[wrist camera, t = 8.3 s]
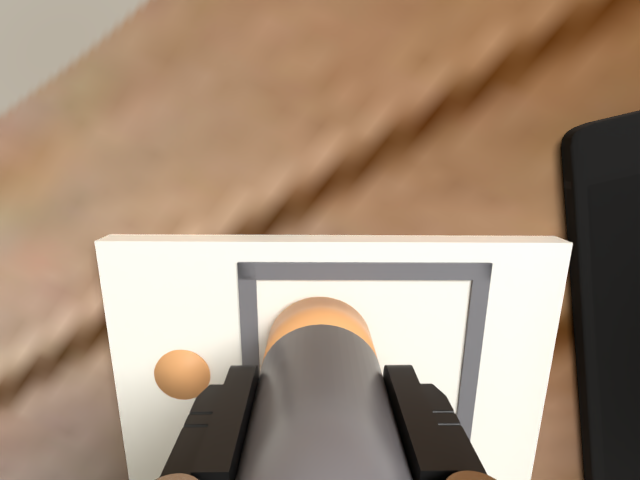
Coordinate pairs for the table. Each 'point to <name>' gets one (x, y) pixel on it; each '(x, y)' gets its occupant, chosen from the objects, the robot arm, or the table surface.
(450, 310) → the board
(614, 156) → the cell phone
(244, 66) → the table surface
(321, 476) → the marker
